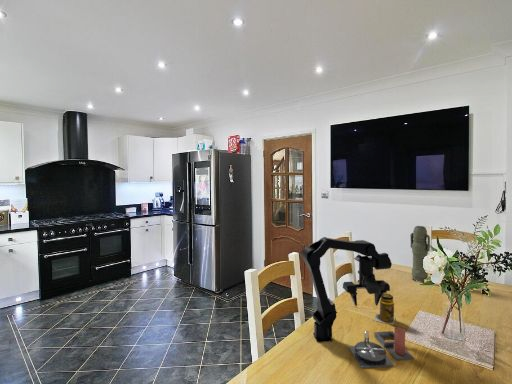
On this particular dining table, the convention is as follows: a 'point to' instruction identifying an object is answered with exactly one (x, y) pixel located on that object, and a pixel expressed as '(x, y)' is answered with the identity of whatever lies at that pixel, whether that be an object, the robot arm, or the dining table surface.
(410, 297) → the dining table surface
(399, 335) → the pink rounded cylinder
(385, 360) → the wheel base
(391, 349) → the mat
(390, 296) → the condiment
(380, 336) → the collar
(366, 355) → the handwheel
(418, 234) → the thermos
